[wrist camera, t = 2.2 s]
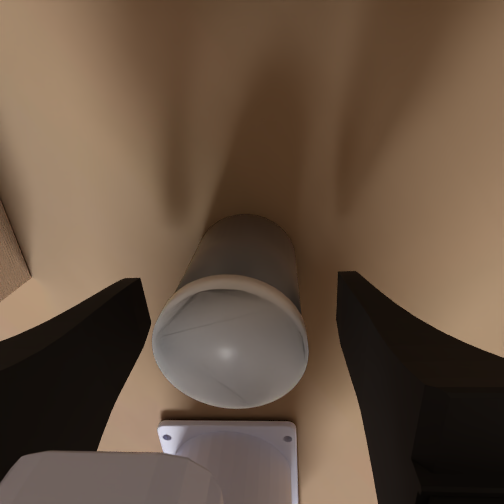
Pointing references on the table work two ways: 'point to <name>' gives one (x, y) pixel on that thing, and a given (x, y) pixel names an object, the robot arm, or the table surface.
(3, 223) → the square base socket
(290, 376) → the cup
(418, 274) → the table surface
